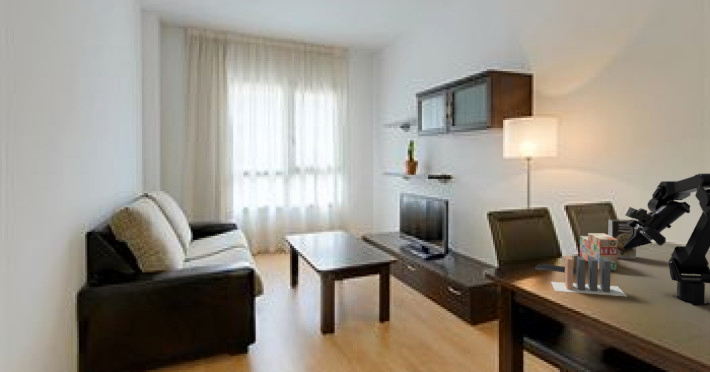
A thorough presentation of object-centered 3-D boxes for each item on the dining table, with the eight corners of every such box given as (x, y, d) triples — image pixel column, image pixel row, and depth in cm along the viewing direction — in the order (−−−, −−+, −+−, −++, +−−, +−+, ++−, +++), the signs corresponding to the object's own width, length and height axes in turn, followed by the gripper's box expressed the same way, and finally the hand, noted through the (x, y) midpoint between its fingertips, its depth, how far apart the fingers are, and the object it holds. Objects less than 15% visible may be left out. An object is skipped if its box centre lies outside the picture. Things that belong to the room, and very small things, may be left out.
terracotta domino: (570, 285, 134) (570, 256, 134) (572, 289, 130) (573, 259, 129) (564, 284, 135) (565, 255, 134) (567, 289, 130) (567, 259, 129)
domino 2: (593, 286, 132) (594, 257, 131) (597, 291, 127) (597, 260, 127) (588, 286, 132) (588, 256, 132) (591, 291, 128) (592, 260, 127)
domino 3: (605, 287, 131) (606, 257, 130) (610, 292, 126) (610, 261, 125) (600, 287, 131) (600, 257, 131) (604, 292, 127) (604, 261, 126)
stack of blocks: (579, 256, 174) (579, 229, 174) (594, 257, 173) (595, 229, 172) (599, 270, 153) (599, 238, 153) (617, 270, 152) (617, 238, 151)
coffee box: (611, 258, 170) (612, 220, 169) (607, 254, 176) (607, 218, 175) (636, 259, 167) (637, 221, 166) (631, 255, 173) (631, 219, 172)
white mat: (617, 288, 132) (617, 286, 132) (627, 298, 122) (627, 296, 122) (550, 283, 138) (550, 281, 138) (555, 292, 129) (555, 290, 129)
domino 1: (581, 286, 133) (582, 256, 132) (585, 290, 128) (585, 260, 128) (576, 285, 134) (576, 256, 133) (579, 290, 129) (579, 259, 128)
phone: (577, 273, 146) (534, 267, 156) (577, 276, 146) (534, 270, 156) (582, 269, 152) (540, 263, 162) (582, 272, 152) (540, 265, 162)
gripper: (634, 196, 140) (597, 226, 144) (654, 202, 122) (612, 236, 127) (660, 219, 138) (622, 249, 142) (684, 228, 120) (641, 262, 125)
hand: (624, 248), depth 134 cm, fingers closed
